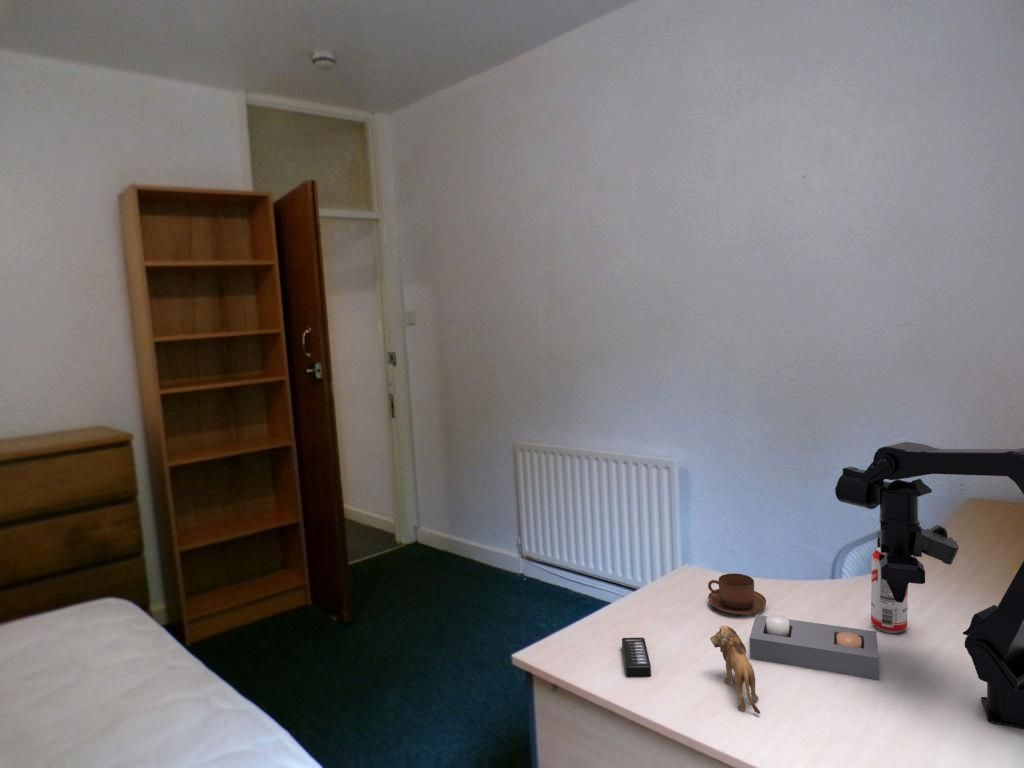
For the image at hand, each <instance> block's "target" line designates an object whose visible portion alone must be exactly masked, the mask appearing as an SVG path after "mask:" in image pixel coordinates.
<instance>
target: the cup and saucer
mask: <svg viewBox="0 0 1024 768" xmlns="http://www.w3.org/2000/svg"><path fill="white" fill-rule="evenodd" d="M707 584H708V585H707V588H708V590H709V591H710V593H709V594H708V596H707V599H708V602H709V604H710V605H712V606H713V608H715V609H717V610H719V611H721V612H724V613H727V614H731V615H751V614H755V613H758V612H760V611H762V610H763V609H764V608H765V607H766V605H767V599H766V597H765V595H763V594H762V593H759V592H758V591H755V580H754V578H752V577H751V576H749V575H746V574H743V573H737V572H735V573H733V572H732V573H726V574H722V575H721V576H719V577H718V580H717V579H711V580H710V581H709V582H708V583H707ZM712 584H716V585H718V588H717V589H713V587H712Z"/></svg>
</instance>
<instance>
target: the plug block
mask: <svg viewBox="0 0 1024 768" xmlns="http://www.w3.org/2000/svg"><path fill="white" fill-rule="evenodd" d="M767 616H768V615H760V614H755V617H754V619H753V624H752V628H751V630H750V635H749V641H748V642H749V659H751V660H752V659H753V660H758V661H764V662H769V663H775V664H781V665H787V666H793V667H800V668H805V669H812V670H817V671H822V672H829V673H834V674H840V675H847V676H852V677H857V678H858V677H859V678H864V679H870V680H877V681H879V680H880V666H879V665H880V663H879V662H880V661H879V660H880V658H879V657H880V656H879V647H878V637H877V636H878V635H877V631H876V630H875V631H874V630H868V629H862V628H854V627H846V626H840V625H833V624H825V623H820V622H819V623H818V622H811V621H805V620H804V621H803V620H796V619H789V618H788V619H789V637H784V636H777V635H770V634H767V626H766V618H767ZM842 632H848V633H853V634H856V635H858V636H860V637H861V639H862V648H856V647H850V646H843V645H837V634H838V633H842Z"/></svg>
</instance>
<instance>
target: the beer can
mask: <svg viewBox="0 0 1024 768" xmlns="http://www.w3.org/2000/svg"><path fill="white" fill-rule="evenodd" d="M874 549H875V550H874V552H873V553H872V555H871V579H870V580H871V582H870V583H871V584H870V585H871V587H870V590H871V591H870V621H871V623H872V625H873V626H874V627H875V628H876V629H877V630H879V631H882V632H884V633H889V634H899V633H902V632H903V631H905V630H906V629H907V627H908V604H909V601H908V598H909V597H908V596H909V594H908V593H909V586H908V587H907V591H906V594H905V597H904V601H903V602H902V603H900V602H896V601H895V599H894V596H893V594H892V592H891V590H890V588H889V586H888V584H887V581H886V580H884V579H881V572H880V561H879V555H884V553H881V549H880V547H877V545H876V546H875V548H874Z"/></svg>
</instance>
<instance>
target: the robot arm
mask: <svg viewBox="0 0 1024 768" xmlns="http://www.w3.org/2000/svg"><path fill="white" fill-rule="evenodd" d="M927 475H955V476H956V475H958V476H991V477H1008V479H1010V480H1011V481H1012V482H1014V483H1015V484H1016V485H1017V487H1018V488H1019V490H1020V492H1022V494H1023V495H1024V447H1020V448H938V447H933V446H930V445H928V444H923V443H918V442H917V443H916V442H910V441H903V442H899V443H894V444H890V445H886V446H882V447H880V448H877V450H876V452H875V453H874V456H873V461H872V462H871V463H870V464H869V466H868V467H867V468H866V469H859V468H858V467H854V466H846V467H843V468H842V474H841V476H839V478H838V480H837V483H836V486H835V487H834V492H835V496H836V498H837V500H838V501H839V502H841V503H844V504H847V505H852V506H854V507H855V506H856V507H860V508H864V509H867V510H868V509H869V510H875V509H876V508H877V507H879V531H878V532H876V546H877V547H880V549H881V553H884V555H879V561H880V572H881V579H884V580H886V581H887V584H888V586H889V588H890V590H891V592H892V594H893V596H894V599H895V601H896V602H900V603H902V602H903V601H904V597H905V594H906V591H907V587H908V588H909V584H916V585H917V584H918V585H923V584H926V570H925V567H924V564H923V563H922V562H921V561H919V559H918V558H922V557H923V555H926V556H928V557H932V558H933V559H937V560H939V561H941V562H942V563H943V564H946V565H952V564H953V562H954V560H955V558H956V556H957V554H958V552H959V549H960V548H959V545H958V542H957V540H955V539H953V537H948V531H947V529H946V527H945V526H941V525H939V524H936V525H934V526H932V528H930V529H929V528H926V529H925V528H922V526H921V522H920V520H919V497H922V496H925V495H928V494H931V493H933V489H932V488H930V486H929V485H927V484H925V483H924V482H923V480H922V478H917V479H913V480H912V481H909V480H904V479H911V478H916V477H920V476H921V477H922V476H927ZM902 479H903V480H902ZM886 480H888V481H886ZM890 481H891V482H890ZM962 634H963V635H964V636H966V637H965V639H964V642H963V643H964V648H965V649H966V650H967V653H968V655H969V656H970V658H971V661H972V664H973V666H974V669H975V671H976V674H977V677H978V679H979V680H980V681H983V682H986V687H987V688H986V696H981V697H980V701H981V705H982V708H983V711H984V714H985V717H986V720H987V721H988V722H990V723H993V724H997V725H1002V726H1010V727H1014V728H1021V729H1024V560H1023V562H1022V563H1021V565H1020V566H1019V569H1018V570H1017V572H1016V574H1015V575H1014V577H1013V578H1012V580H1011V582H1010V583H1009V586H1008V588H1007V589H1006V590H1005V592H1004V594H1003V596H1002V598H1001V600H1000V601H999V603H998V604H993V605H991V606H989V607H987V608H985V609H983V610H980V611H978V612H976V613H974V615H972V617H971V620H970V625H969V626H968V628H967V629H966V630H964V631H962Z"/></svg>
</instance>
